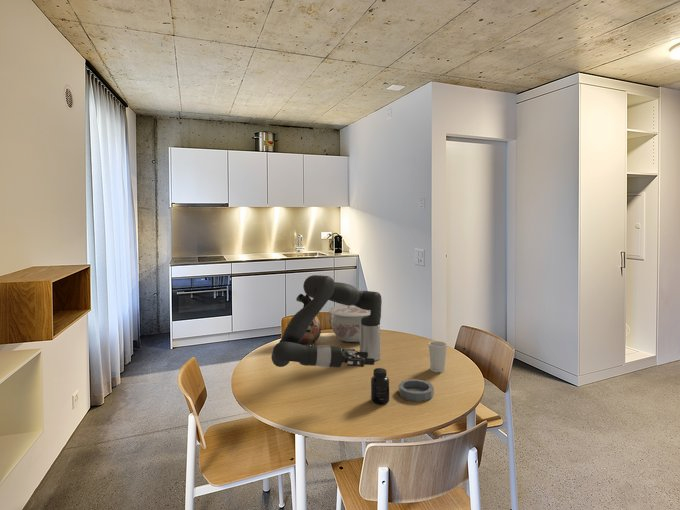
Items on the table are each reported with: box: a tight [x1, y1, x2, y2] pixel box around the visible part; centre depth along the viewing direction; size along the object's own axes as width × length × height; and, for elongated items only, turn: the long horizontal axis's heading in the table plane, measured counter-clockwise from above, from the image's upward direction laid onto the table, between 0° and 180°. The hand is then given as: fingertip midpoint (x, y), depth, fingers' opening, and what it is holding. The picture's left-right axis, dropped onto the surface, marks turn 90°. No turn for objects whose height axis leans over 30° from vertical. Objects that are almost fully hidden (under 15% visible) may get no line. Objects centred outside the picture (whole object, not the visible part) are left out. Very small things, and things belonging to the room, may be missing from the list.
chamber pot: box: [328, 304, 371, 343], centre depth 224 cm, size 28×28×21 cm
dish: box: [398, 378, 435, 402], centre depth 153 cm, size 13×13×3 cm
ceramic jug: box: [295, 293, 322, 346], centre depth 215 cm, size 17×15×30 cm
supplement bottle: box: [370, 367, 390, 406], centre depth 147 cm, size 7×7×12 cm
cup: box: [428, 340, 448, 373], centre depth 177 cm, size 8×8×12 cm
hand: (370, 358), depth 145 cm, fingers open, 8 cm apart
